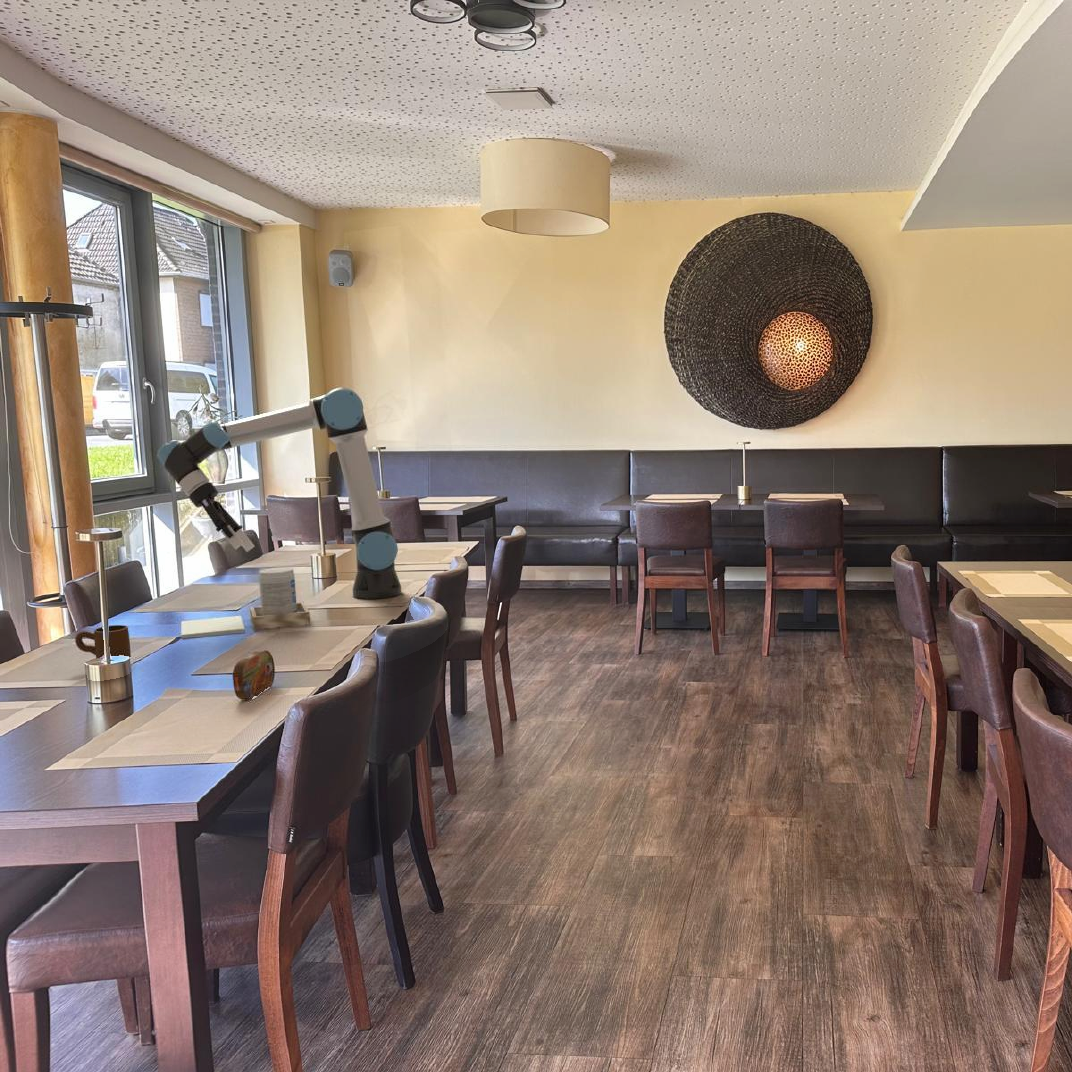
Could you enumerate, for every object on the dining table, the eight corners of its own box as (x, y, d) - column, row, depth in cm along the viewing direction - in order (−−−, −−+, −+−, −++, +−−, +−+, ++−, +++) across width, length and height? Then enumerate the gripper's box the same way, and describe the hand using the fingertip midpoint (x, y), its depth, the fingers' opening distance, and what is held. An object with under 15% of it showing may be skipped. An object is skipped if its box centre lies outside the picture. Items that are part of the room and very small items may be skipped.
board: (241, 619, 291) (241, 615, 291) (244, 632, 274) (244, 628, 274) (181, 624, 286) (181, 621, 286) (181, 638, 269) (181, 634, 269)
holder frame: (304, 614, 295) (303, 602, 295) (310, 624, 281) (309, 611, 281) (250, 619, 290) (249, 607, 290) (253, 630, 276) (252, 617, 276)
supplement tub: (302, 622, 284) (299, 570, 282) (269, 627, 279) (265, 574, 277) (290, 616, 292) (286, 565, 290) (257, 621, 287) (253, 569, 285)
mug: (72, 674, 237) (69, 634, 236) (83, 665, 244) (79, 627, 243) (126, 670, 238) (123, 631, 237) (135, 662, 246) (132, 623, 244)
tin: (246, 704, 208) (243, 664, 207) (231, 704, 209) (228, 664, 207) (277, 684, 223) (274, 646, 222) (263, 683, 223) (261, 646, 222)
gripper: (200, 501, 304) (244, 558, 303) (175, 492, 279) (223, 553, 278) (221, 486, 304) (265, 542, 304) (197, 475, 279) (245, 536, 279)
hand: (245, 547), depth 291 cm, fingers open, 13 cm apart
